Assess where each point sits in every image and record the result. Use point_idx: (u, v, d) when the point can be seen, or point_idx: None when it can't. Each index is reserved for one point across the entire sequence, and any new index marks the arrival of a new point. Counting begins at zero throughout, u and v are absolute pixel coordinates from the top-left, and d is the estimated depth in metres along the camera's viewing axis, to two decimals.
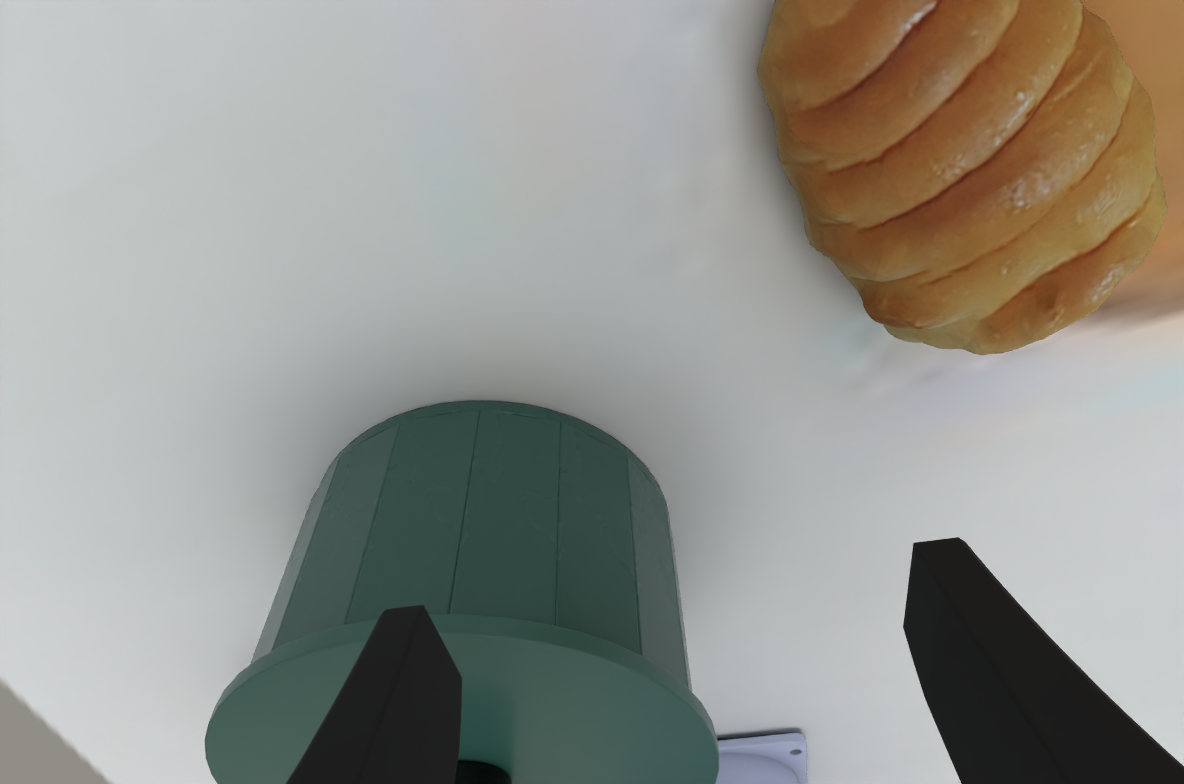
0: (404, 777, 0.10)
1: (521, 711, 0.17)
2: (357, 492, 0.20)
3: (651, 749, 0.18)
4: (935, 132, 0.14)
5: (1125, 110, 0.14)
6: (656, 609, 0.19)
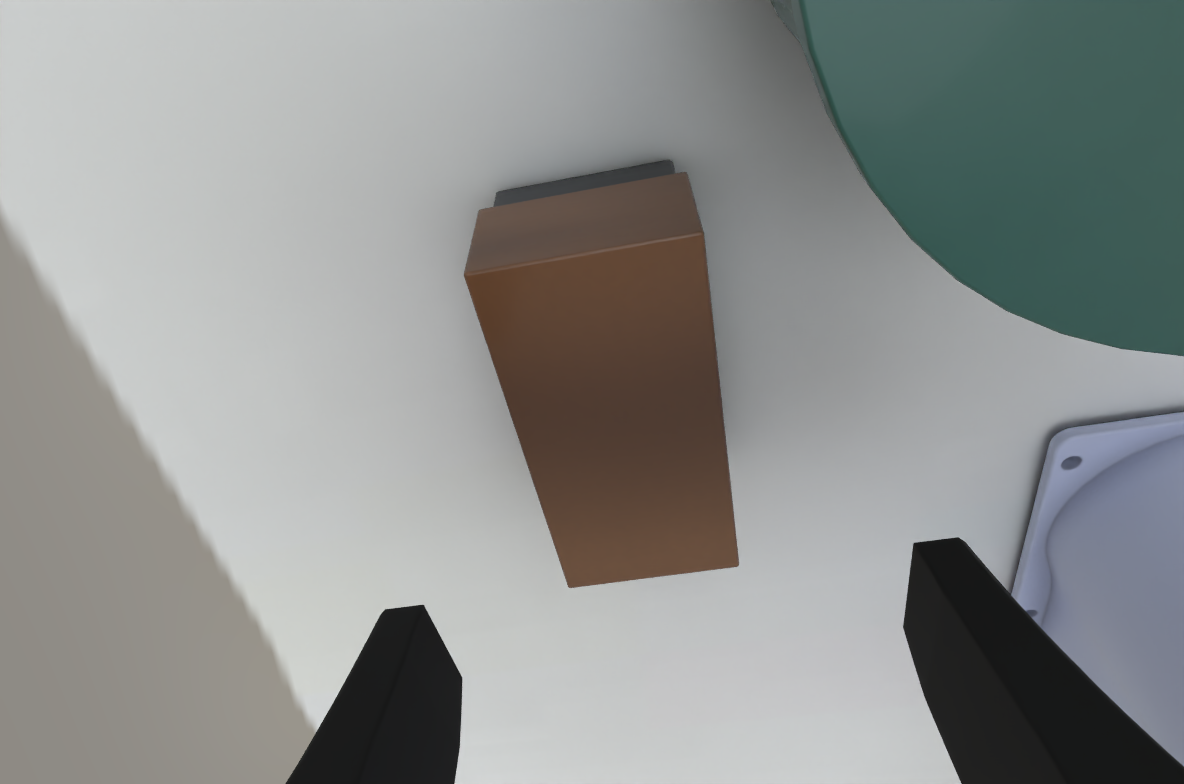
0: (404, 777, 0.10)
1: None
2: None
3: None
4: None
5: None
6: None
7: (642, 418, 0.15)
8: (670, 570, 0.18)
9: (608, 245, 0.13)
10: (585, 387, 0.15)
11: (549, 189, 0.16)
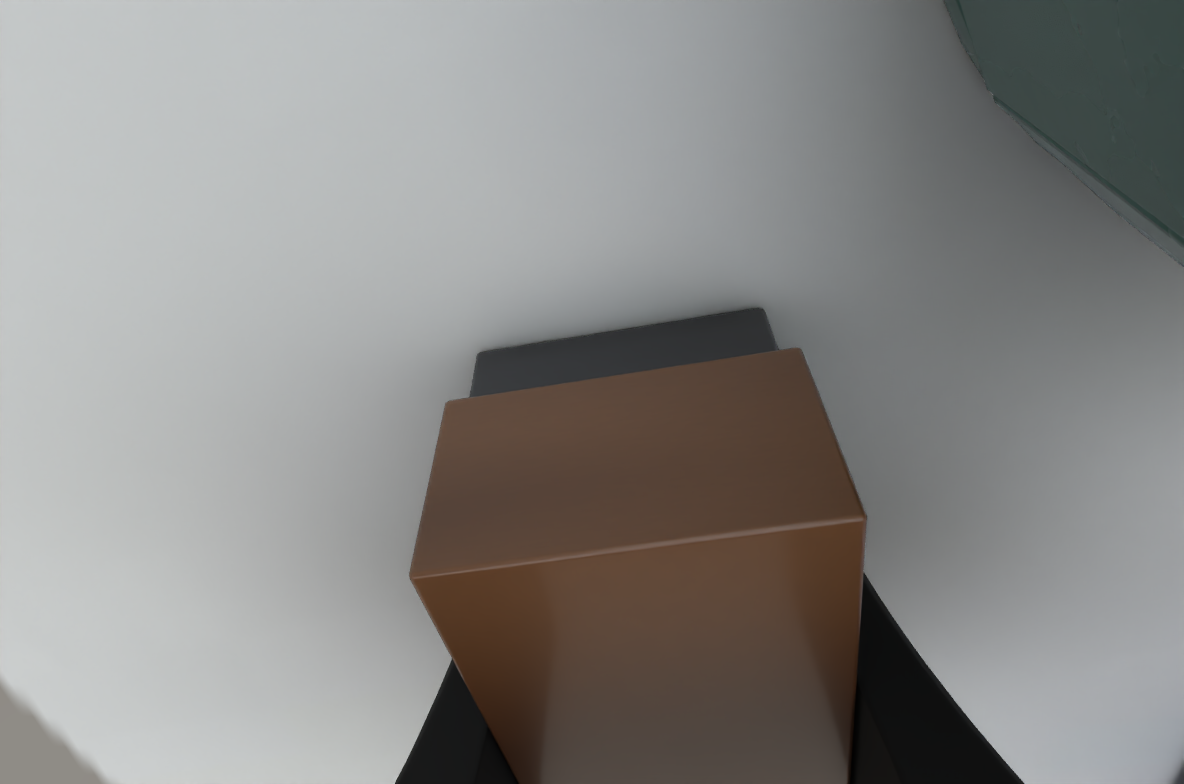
0: None
1: None
2: None
3: None
4: None
5: None
6: None
7: (717, 750, 0.09)
8: None
9: (683, 530, 0.07)
10: (627, 715, 0.09)
11: (564, 358, 0.10)
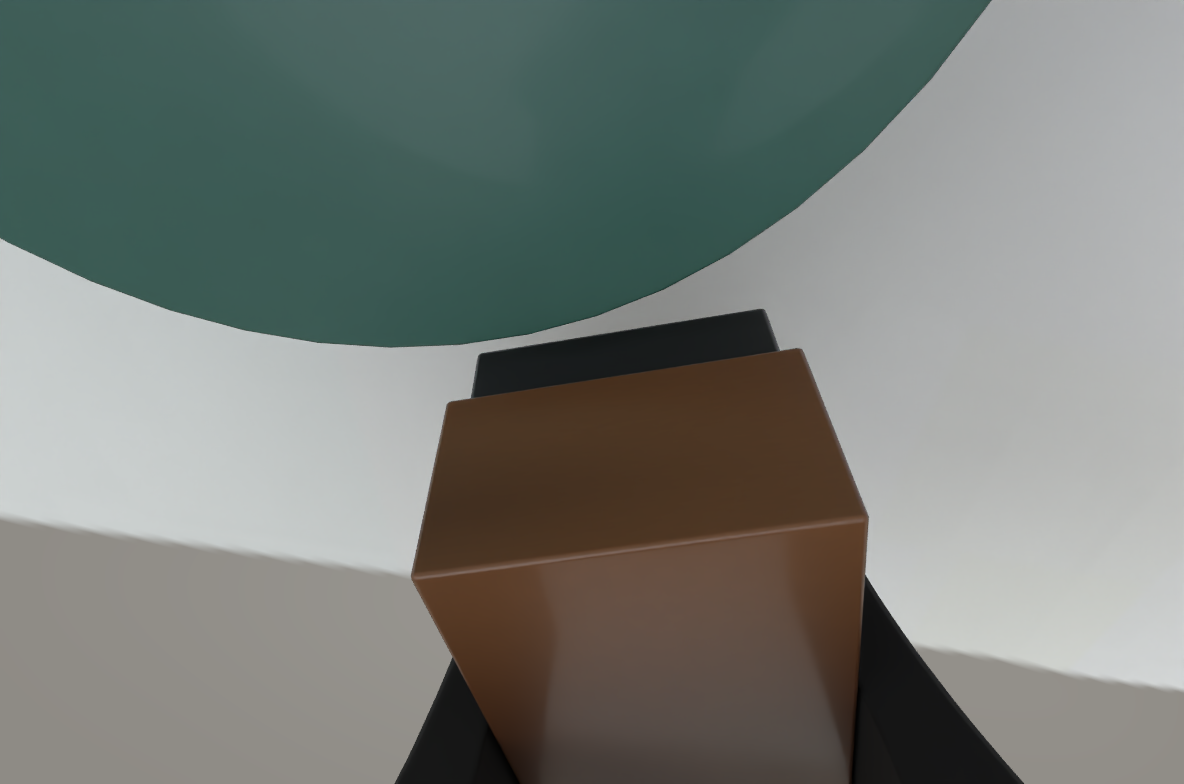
0: (510, 767, 0.10)
1: None
2: None
3: None
4: None
5: None
6: None
7: (719, 750, 0.09)
8: None
9: (685, 533, 0.07)
10: (629, 715, 0.09)
11: (565, 359, 0.10)
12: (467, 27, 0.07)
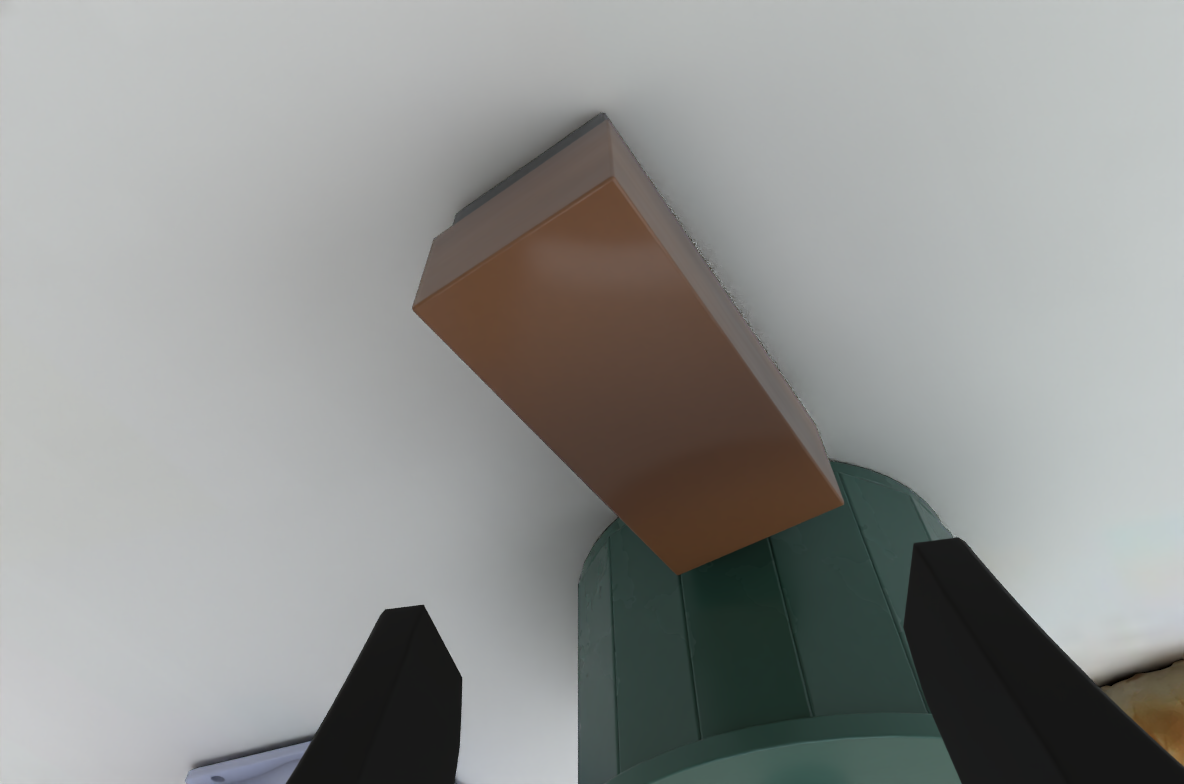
0: (404, 777, 0.10)
1: None
2: None
3: None
4: None
5: None
6: None
7: (647, 447, 0.15)
8: (491, 270, 0.13)
9: (737, 547, 0.17)
10: (714, 458, 0.15)
11: None
12: None
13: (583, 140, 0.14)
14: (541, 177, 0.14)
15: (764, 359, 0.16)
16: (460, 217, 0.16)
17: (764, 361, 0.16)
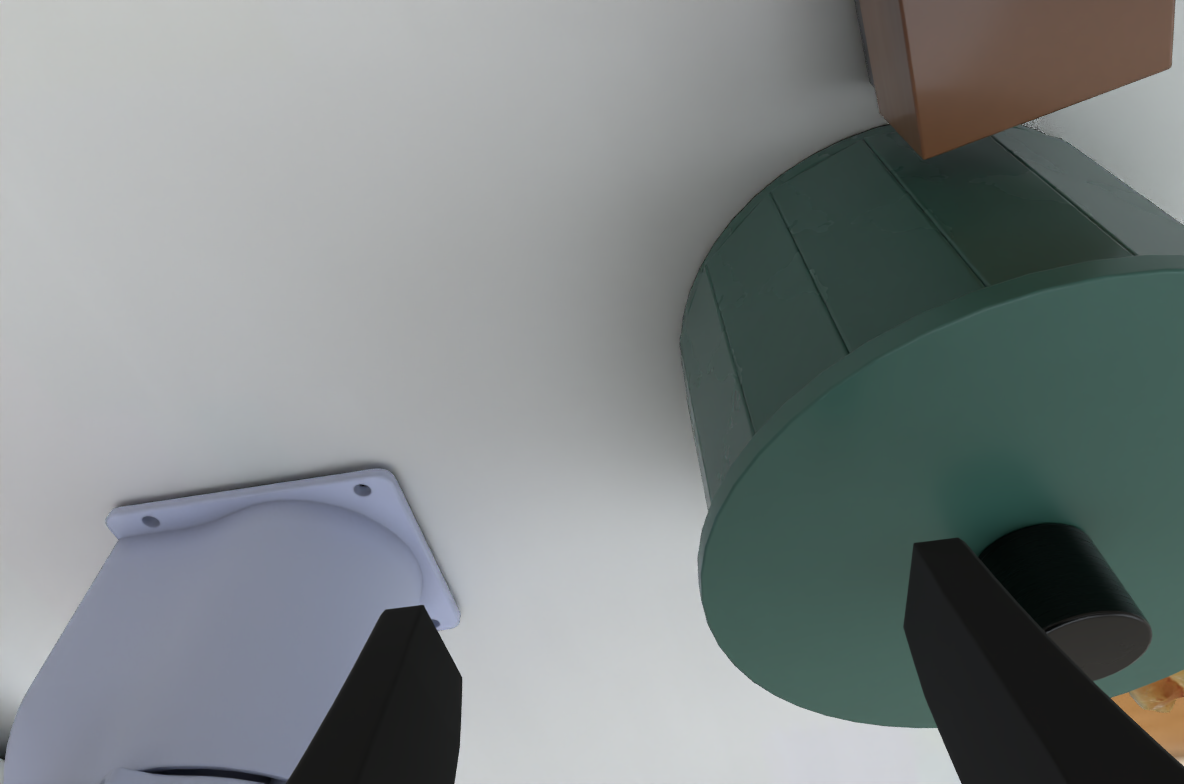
0: (405, 777, 0.10)
1: (1161, 605, 0.16)
2: None
3: None
4: None
5: None
6: None
7: None
8: None
9: (1012, 125, 0.14)
10: None
11: None
12: (963, 476, 0.13)
13: None
14: None
15: None
16: None
17: None
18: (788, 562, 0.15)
